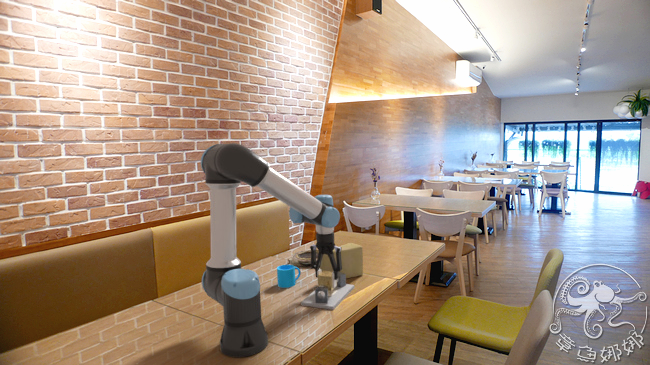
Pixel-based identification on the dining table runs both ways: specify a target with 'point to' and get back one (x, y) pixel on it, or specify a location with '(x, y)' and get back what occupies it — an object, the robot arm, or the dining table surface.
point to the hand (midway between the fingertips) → (327, 285)
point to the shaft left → (321, 294)
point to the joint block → (326, 279)
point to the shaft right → (341, 280)
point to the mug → (287, 275)
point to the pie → (302, 258)
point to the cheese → (346, 260)
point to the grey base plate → (329, 297)
